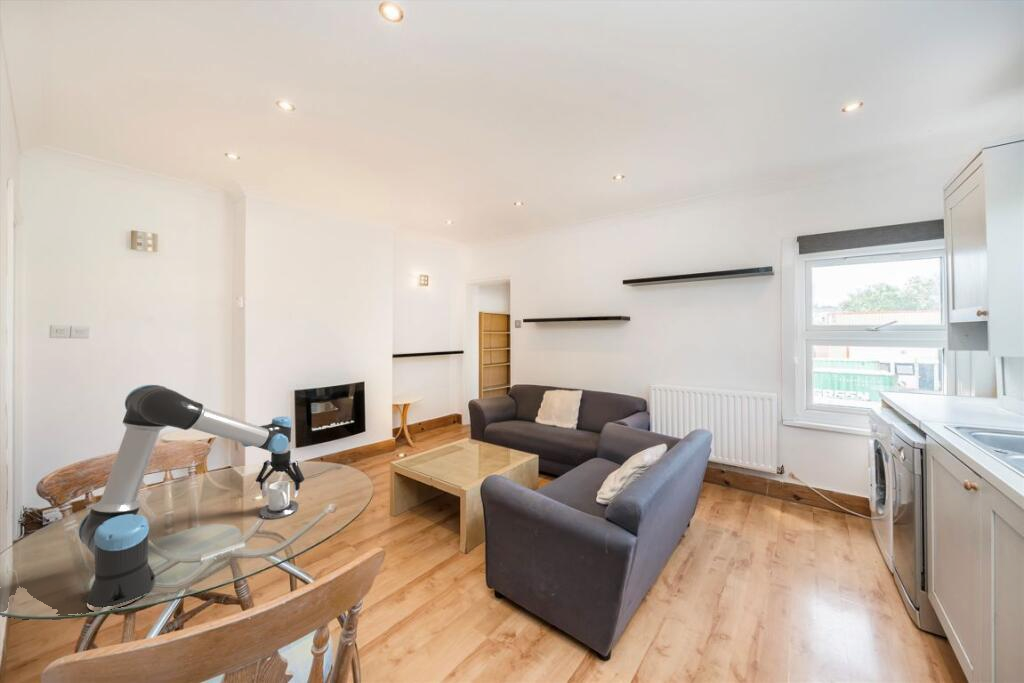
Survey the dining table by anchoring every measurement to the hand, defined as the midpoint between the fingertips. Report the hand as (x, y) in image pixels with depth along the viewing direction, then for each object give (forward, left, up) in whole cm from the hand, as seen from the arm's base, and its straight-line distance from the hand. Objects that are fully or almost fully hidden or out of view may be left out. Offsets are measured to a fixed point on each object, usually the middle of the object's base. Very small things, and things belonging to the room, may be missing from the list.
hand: (279, 496), depth 173 cm
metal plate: (0, 0, -7) cm, 7 cm away
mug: (0, -1, -6) cm, 6 cm away
